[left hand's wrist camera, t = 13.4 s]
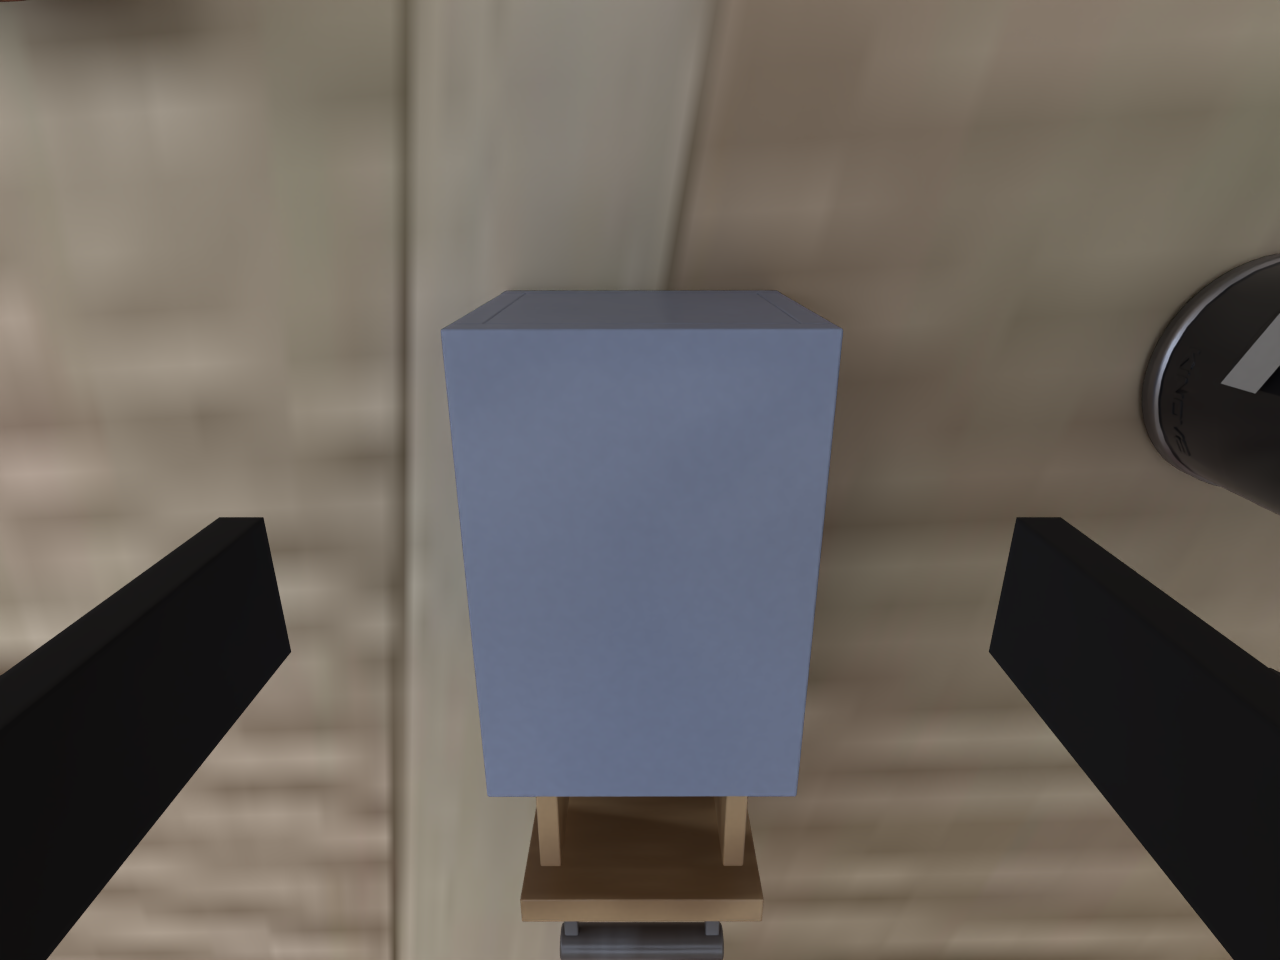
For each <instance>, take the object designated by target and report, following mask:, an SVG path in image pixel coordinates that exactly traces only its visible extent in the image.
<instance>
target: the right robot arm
mask: <svg viewBox="0 0 1280 960" xmlns="http://www.w3.org/2000/svg"><path fill="white" fill-rule="evenodd" d="M1142 411H1143V418H1144V423H1145V426H1146V429H1147V432H1148V435H1149V437H1150V439H1151V441H1152V443H1153V445H1154V446H1155V448H1156V449H1157V451H1158V452H1159V453H1160V454H1161V455H1162V456H1163V458H1165V459H1166V460H1167V461H1168V462H1169V463H1170V464H1171V465H1173V466H1174V467H1176V468H1177V469H1179V470H1181V471H1183V472H1184V473H1186V474H1188V475H1191V476H1193V477H1195V478H1197V479H1199V480H1201V481H1204V482H1206V483H1209V484H1212V485H1216V486H1220V487H1222V488H1224V489H1227V490H1229V491H1231V492H1233V493H1235V494H1237V495H1239V496H1241V497H1243V498H1245V499H1247V500H1250V501H1252V502H1254V503H1255V504H1257V505H1259V506H1261V507H1263V508H1265V509H1267V510H1269V511H1272V512H1274V513H1276V514H1278V515H1280V254H1274V255H1270V256H1266V257H1262V258H1259V259H1256V260H1253V261H1250V262H1248V263H1245V264H1243V265H1241V266H1238V267H1237V268H1235V269H1233V270H1231V271H1229V272H1227V273H1225V274H1224V275H1222V276H1220V277H1219V278H1217V279H1216V280H1214V281H1213V282H1211V283H1210V284H1209V285H1207V286H1206V287H1205V288H1203V289H1202V290H1201V291H1200V292H1199V293H1197V294H1196V295H1195V296H1194V297H1193V298H1192V299H1191V300H1190V301H1189V302H1188V303H1187V304H1186V305H1185V306H1184V307H1183V308H1182V309H1181V310H1180V311H1179V313H1178V314H1177V315H1176V316H1175V317H1174V319H1173V320H1172V321H1171V323H1170V324H1169V325H1168V327H1167V328H1166V330H1165V331H1164V333H1163V334H1162V336H1161V338H1160V339H1159V341H1158V343H1157V345H1156V347H1155V349H1154V351H1153V354H1152V356H1151V358H1150V361H1149V364H1148V367H1147V370H1146V374H1145V379H1144V383H1143V391H1142Z"/></svg>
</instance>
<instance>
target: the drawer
mask: <svg viewBox="0 0 1280 960" xmlns="http://www.w3.org/2000/svg"><path fill="white" fill-rule="evenodd" d="M747 802H748V796H621V797H536V805H537V807H536V813H535V818H534V824H533V830H532V836H531V841H530V847H529V853H528V859H527V864H526V870H525V876H524V882H523V888H522V893H521V899H520V902H521V913H522V921H523V922H544V921H564V923H563V924H562V927H561V936H560V958H561V960H723V956H724V941H723V930H722V925H721V923H720V921H762V912H763V900H764V899H763V894H762V888H761V883H760V877H759V871H758V866H757V860H756V855H755V849H754V844H753V838H752V833H751V827H750V821H749V816H748V810H747ZM579 921H704V922H579Z"/></svg>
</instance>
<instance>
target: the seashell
mask: <svg viewBox="0 0 1280 960" xmlns="http://www.w3.org/2000/svg"><path fill="white" fill-rule="evenodd" d="M10 1H24V0H0V2H10Z"/></svg>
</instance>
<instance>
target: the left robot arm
mask: <svg viewBox="0 0 1280 960" xmlns="http://www.w3.org/2000/svg"><path fill="white" fill-rule="evenodd" d="M290 653H291V649H290V644H289V639H288V634H287V629H286V625H285V620H284V615H283V610H282V605H281V600H280V596H279V591H278V586H277V581H276V576H275V571H274V567H273V562H272V557H271V552H270V547H269V542H268V538H267V533H266V528H265V523H264V518H263V517H219V518H218V519H217V520H215V521H214V522H212V523H211V524H210V525H208V526H207V527H206V528H204V529H203V530H201V531H200V532H199V533H197V534H196V535H194V536H193V537H192V538H190V539H189V540H188V541H186V542H185V543H183V544H182V545H181V546H179V547H178V548H177V549H175V550H174V551H172V552H171V553H170V554H168V555H167V556H165V557H164V558H163V559H161V560H160V561H159V562H157V563H156V564H154V565H153V566H152V567H150V568H149V569H148V570H146V571H145V572H143V573H142V574H141V575H139V576H138V577H136V578H135V579H134V580H132V581H131V582H130V583H128V584H127V585H125V586H124V587H123V588H121V589H120V590H119V591H117V592H116V593H114V594H113V595H112V596H110V597H109V598H107V599H106V600H105V601H103V602H102V603H101V604H99V605H98V606H96V607H95V608H94V609H92V610H91V611H90V612H88V613H87V614H85V615H84V616H83V617H81V618H80V619H78V620H77V621H76V622H74V623H73V624H72V625H70V626H69V627H67V628H66V629H65V630H63V631H62V632H61V633H59V634H58V635H56V636H55V637H54V638H52V639H51V640H49V641H48V642H47V643H45V644H44V645H43V646H41V647H40V648H38V649H37V650H36V651H34V652H33V653H32V654H30V655H29V656H27V657H26V658H25V659H23V660H22V661H20V662H19V663H18V664H16V665H15V666H14V667H12V668H11V669H9V670H8V671H7V672H5V673H4V674H2V675H0V960H46V959H47V958H48V957H49V956H50V954H51V953H52V952H53V951H54V949H55V948H56V947H57V946H58V944H59V943H60V942H61V941H62V939H63V938H64V937H65V936H66V934H67V933H68V932H69V931H70V929H71V928H72V927H73V926H74V924H75V923H76V922H77V920H78V919H79V918H80V917H81V915H82V914H83V913H84V912H85V910H86V909H87V908H88V907H89V905H90V904H91V903H92V902H93V900H94V899H95V898H96V897H97V895H98V894H99V893H100V892H101V890H102V889H103V888H104V887H105V885H106V884H107V883H108V881H109V880H110V879H111V878H112V876H113V875H114V874H115V873H116V871H117V870H118V869H119V868H120V866H121V865H122V864H123V863H124V861H125V860H126V859H127V858H128V856H129V855H130V854H131V853H132V851H133V850H134V849H135V848H136V846H137V845H138V844H139V842H140V841H141V840H142V839H143V837H144V836H145V835H146V834H147V832H148V831H149V830H150V829H151V827H152V826H153V825H154V824H155V822H156V821H157V820H158V819H159V817H160V816H161V815H162V814H163V812H164V811H165V810H166V809H167V807H168V806H169V805H170V803H171V802H172V801H173V800H174V798H175V797H176V796H177V795H178V793H179V792H180V791H181V790H182V788H183V787H184V786H185V785H186V783H187V782H188V781H189V780H190V778H191V777H192V776H193V775H194V773H195V772H196V771H197V770H198V768H199V767H200V766H201V764H202V763H203V762H204V761H205V759H206V758H207V757H208V756H209V754H210V753H211V752H212V751H213V749H214V748H215V747H216V746H217V744H218V743H219V742H220V741H221V739H222V738H223V737H224V736H225V734H226V733H227V732H228V731H229V729H230V728H231V727H232V725H233V724H234V723H235V722H236V720H237V719H238V718H239V717H240V715H241V714H242V713H243V712H244V710H245V709H246V708H247V707H248V705H249V704H250V703H251V702H252V700H253V699H254V698H255V697H256V695H257V694H258V693H259V692H260V690H261V689H262V688H263V686H264V685H265V684H266V683H267V681H268V680H269V679H270V678H271V676H272V675H273V674H274V673H275V671H276V670H277V669H278V668H279V666H280V665H281V664H282V663H283V661H284V660H285V659H286V658H287V656H288V655H289V654H290ZM989 653H990V654H991V655H992V656H993V658H994V659H995V660H996V661H997V663H998V664H999V665H1000V666H1001V668H1002V669H1003V670H1004V671H1005V673H1006V674H1007V675H1008V676H1009V678H1010V679H1011V680H1012V681H1013V683H1014V684H1015V685H1016V686H1017V688H1018V689H1019V690H1020V692H1021V693H1022V694H1023V695H1024V697H1025V698H1026V699H1027V700H1028V702H1029V703H1030V704H1031V705H1032V707H1033V708H1034V709H1035V710H1036V712H1037V713H1038V714H1039V715H1040V717H1041V718H1042V719H1043V720H1044V722H1045V723H1046V724H1047V725H1048V727H1049V728H1050V729H1051V731H1052V732H1053V733H1054V734H1055V736H1056V737H1057V738H1058V739H1059V741H1060V742H1061V743H1062V744H1063V746H1064V747H1065V748H1066V749H1067V751H1068V752H1069V753H1070V754H1071V756H1072V757H1073V758H1074V759H1075V761H1076V762H1077V763H1078V764H1079V766H1080V767H1081V768H1082V770H1083V771H1084V772H1085V773H1086V775H1087V776H1088V777H1089V778H1090V780H1091V781H1092V782H1093V783H1094V785H1095V786H1096V787H1097V788H1098V790H1099V791H1100V792H1101V793H1102V795H1103V796H1104V797H1105V798H1106V800H1107V801H1108V802H1109V803H1110V805H1111V806H1112V807H1113V809H1114V810H1115V811H1116V812H1117V814H1118V815H1119V816H1120V817H1121V819H1122V820H1123V821H1124V822H1125V824H1126V825H1127V826H1128V827H1129V829H1130V830H1131V831H1132V832H1133V834H1134V835H1135V836H1136V837H1137V839H1138V840H1139V841H1140V842H1141V844H1142V845H1143V846H1144V848H1145V849H1146V850H1147V851H1148V853H1149V854H1150V855H1151V856H1152V858H1153V859H1154V860H1155V861H1156V863H1157V864H1158V865H1159V866H1160V868H1161V869H1162V870H1163V871H1164V873H1165V874H1166V875H1167V876H1168V878H1169V879H1170V880H1171V881H1172V883H1173V884H1174V885H1175V887H1176V888H1177V889H1178V890H1179V892H1180V893H1181V894H1182V895H1183V897H1184V898H1185V899H1186V900H1187V902H1188V903H1189V904H1190V905H1191V907H1192V908H1193V909H1194V910H1195V912H1196V913H1197V914H1198V915H1199V917H1200V918H1201V919H1202V920H1203V922H1204V923H1205V924H1206V926H1207V927H1208V928H1209V929H1210V931H1211V932H1212V933H1213V934H1214V936H1215V937H1216V938H1217V939H1218V941H1219V942H1220V943H1221V944H1222V946H1223V947H1224V948H1225V949H1226V951H1227V952H1228V953H1229V954H1230V956H1231V957H1232V958H1233V959H1234V960H1280V672H1278V671H1276V670H1274V669H1272V668H1268V667H1266V666H1265V665H1264V664H1262V663H1261V662H1260V661H1258V660H1257V659H1255V658H1254V657H1253V656H1251V655H1250V654H1248V653H1247V652H1246V651H1244V650H1243V649H1242V648H1240V647H1239V646H1237V645H1236V644H1235V643H1233V642H1232V641H1231V640H1229V639H1228V638H1226V637H1225V636H1224V635H1222V634H1221V633H1219V632H1218V631H1217V630H1215V629H1214V628H1213V627H1211V626H1210V625H1208V624H1207V623H1206V622H1204V621H1203V620H1202V619H1200V618H1199V617H1197V616H1196V615H1195V614H1193V613H1192V612H1190V611H1189V610H1188V609H1186V608H1185V607H1184V606H1182V605H1181V604H1179V603H1178V602H1177V601H1175V600H1174V599H1173V598H1171V597H1170V596H1168V595H1167V594H1166V593H1164V592H1163V591H1161V590H1160V589H1159V588H1157V587H1156V586H1155V585H1153V584H1152V583H1150V582H1149V581H1148V580H1146V579H1145V578H1144V577H1142V576H1141V575H1139V574H1138V573H1137V572H1135V571H1134V570H1132V569H1131V568H1130V567H1128V566H1127V565H1126V564H1124V563H1123V562H1121V561H1120V560H1119V559H1117V558H1116V557H1115V556H1113V555H1112V554H1110V553H1109V552H1108V551H1106V550H1105V549H1103V548H1102V547H1101V546H1099V545H1098V544H1097V543H1095V542H1094V541H1092V540H1091V539H1090V538H1088V537H1087V536H1086V535H1084V534H1083V533H1081V532H1080V531H1079V530H1077V529H1076V528H1074V527H1073V526H1072V525H1070V524H1069V523H1068V522H1066V521H1065V520H1063V519H1062V518H1061V517H1017V518H1016V523H1015V528H1014V533H1013V538H1012V542H1011V547H1010V552H1009V557H1008V562H1007V567H1006V571H1005V576H1004V581H1003V586H1002V591H1001V596H1000V600H999V605H998V610H997V615H996V620H995V625H994V629H993V634H992V639H991V644H990V649H989Z"/></svg>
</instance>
